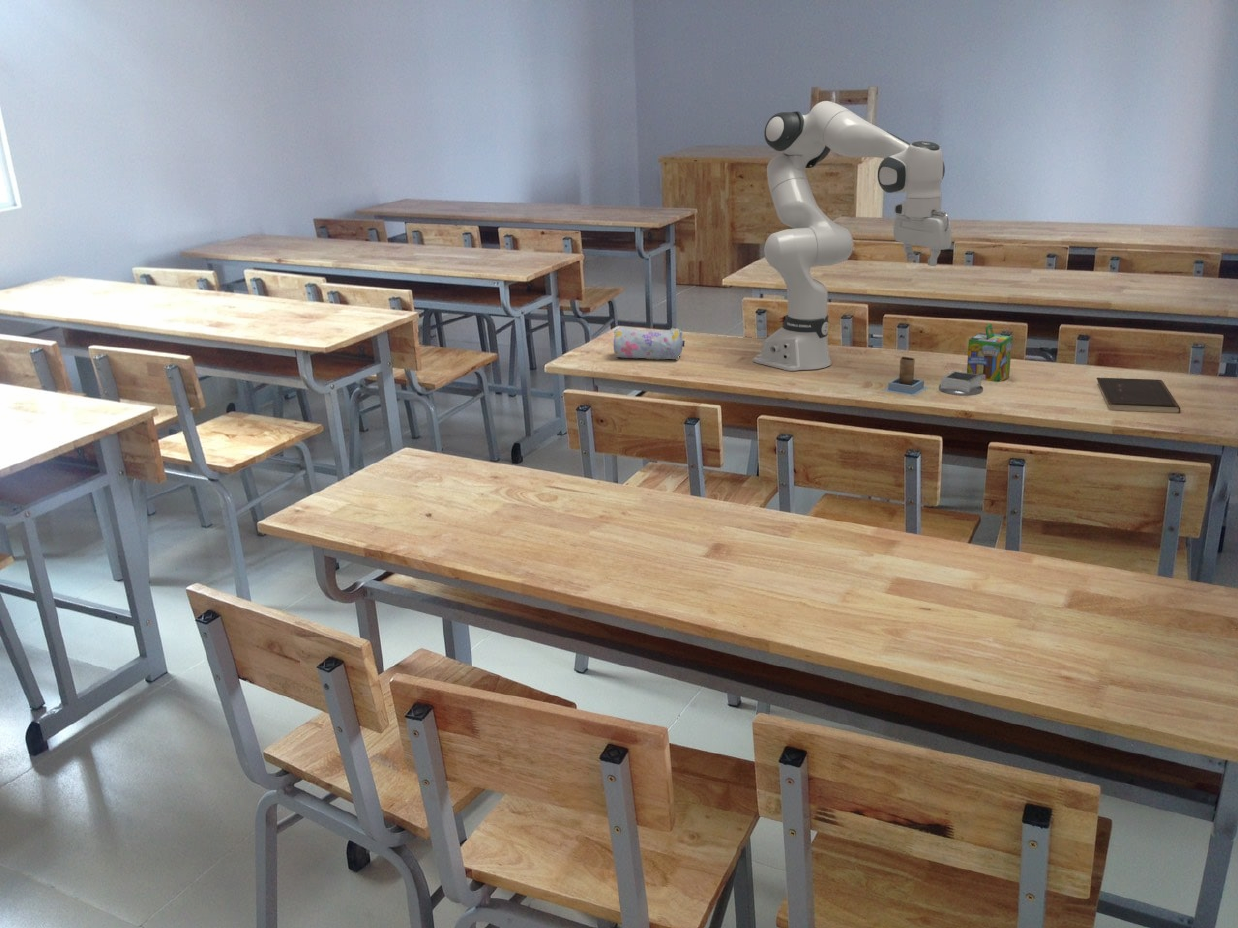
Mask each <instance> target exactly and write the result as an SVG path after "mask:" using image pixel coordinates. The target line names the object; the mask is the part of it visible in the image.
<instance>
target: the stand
mask: <svg viewBox="0 0 1238 928" xmlns="http://www.w3.org/2000/svg"><path fill="white" fill-rule="evenodd" d="M887 383H888V385H887V387H886V388H884V389H882V391H883V392H889V393H894V394H900V395H907V396H912V397H915V396H917V395H919V394H921V393H922V392H924V391H926V390H927V389H929V388H930V387H929V386H925V380H924V379H918V378H914V379H913V385H912V386H910V385H904V384H899V376H898V377H897V378H895V379H892V380H890V381H889V382H887Z"/></svg>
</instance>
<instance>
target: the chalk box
mask: <svg viewBox="0 0 1238 928" xmlns="http://www.w3.org/2000/svg"><path fill="white" fill-rule="evenodd" d="M984 330H985V333H982V332H979V333H977V334H976V335H974V336H972V337H971V338H969V339H968V346H967V348H968V349H967V363H966V364H967V366H966V373H972V374H979V375H982V378H981V381H991V382H997V383H999V382H1004V381H1005V380H1007V379H1008V378H1010V370H1011V361H1012V359H1011V357H1012V345H1013V336H1011V335H1002V334H996V333H994V329H993V325H992V323H988V325H987V324H986V326H985V329H984ZM989 330H990V333H989Z"/></svg>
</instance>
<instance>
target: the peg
mask: <svg viewBox="0 0 1238 928" xmlns="http://www.w3.org/2000/svg"><path fill="white" fill-rule="evenodd" d="M915 362H916V361H915V358H913V357H908V356H901V357H900V361H899V376H898V377H899V384H904V385H910V386H912V385H913V379H915V378H914V375H915Z"/></svg>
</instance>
